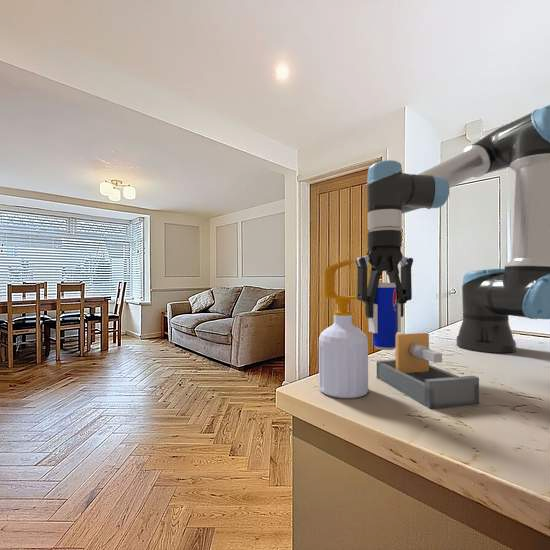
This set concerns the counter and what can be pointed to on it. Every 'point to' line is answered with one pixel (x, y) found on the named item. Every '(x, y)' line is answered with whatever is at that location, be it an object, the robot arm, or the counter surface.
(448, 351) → the counter surface
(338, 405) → the counter surface
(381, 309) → the beverage can
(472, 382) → the grey tray
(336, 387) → the soap bottle
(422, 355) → the pusher
